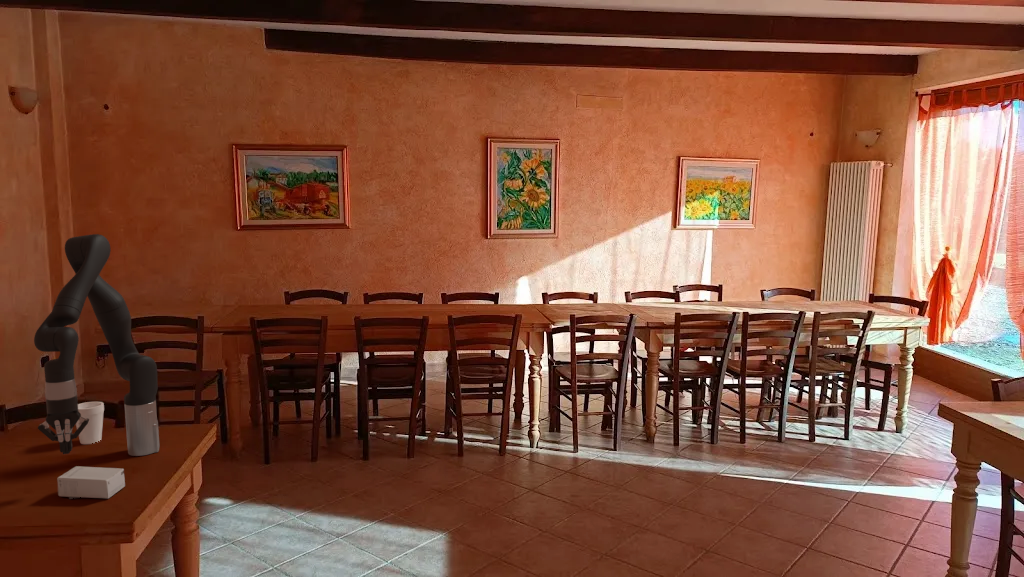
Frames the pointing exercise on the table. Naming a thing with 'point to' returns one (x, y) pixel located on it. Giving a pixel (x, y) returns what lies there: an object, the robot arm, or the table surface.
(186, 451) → the table surface
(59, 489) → the skincare box
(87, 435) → the foam cup
